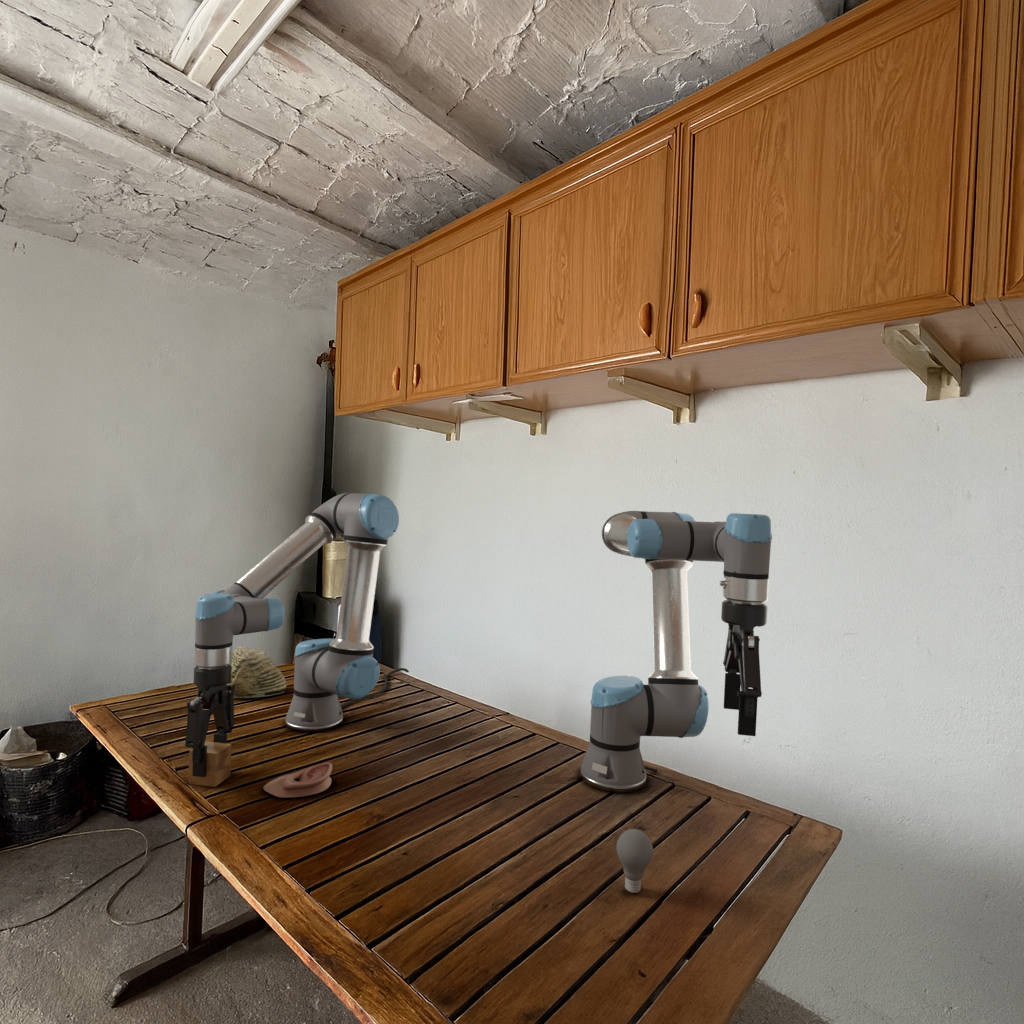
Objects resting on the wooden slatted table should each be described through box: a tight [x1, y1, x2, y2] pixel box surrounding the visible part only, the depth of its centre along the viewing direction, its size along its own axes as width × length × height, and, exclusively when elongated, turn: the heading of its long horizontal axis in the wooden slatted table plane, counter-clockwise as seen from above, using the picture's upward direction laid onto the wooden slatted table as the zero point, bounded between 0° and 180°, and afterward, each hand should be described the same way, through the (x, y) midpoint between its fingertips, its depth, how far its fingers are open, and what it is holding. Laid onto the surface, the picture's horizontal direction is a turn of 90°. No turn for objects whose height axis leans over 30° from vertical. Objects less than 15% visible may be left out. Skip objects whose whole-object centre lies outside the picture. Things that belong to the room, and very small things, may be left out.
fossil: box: [227, 646, 288, 699], centre depth 198 cm, size 9×18×15 cm, turn 132°
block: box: [187, 740, 232, 788], centre depth 139 cm, size 6×6×7 cm
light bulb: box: [615, 828, 654, 894], centre depth 106 cm, size 6×6×10 cm
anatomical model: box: [262, 762, 333, 799], centre depth 138 cm, size 13×4×12 cm
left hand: (209, 768), depth 139 cm, fingers open, 6 cm apart
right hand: (738, 721), depth 112 cm, fingers open, 13 cm apart
